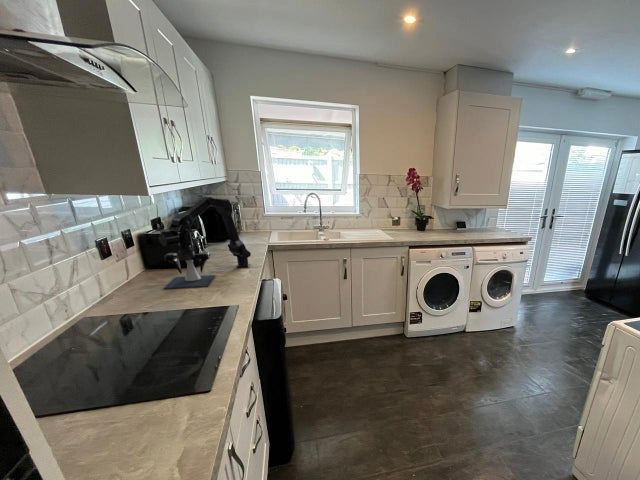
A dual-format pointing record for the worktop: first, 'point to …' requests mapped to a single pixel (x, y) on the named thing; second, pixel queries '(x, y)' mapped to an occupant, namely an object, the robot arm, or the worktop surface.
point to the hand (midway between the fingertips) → (191, 272)
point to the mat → (190, 282)
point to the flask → (191, 272)
